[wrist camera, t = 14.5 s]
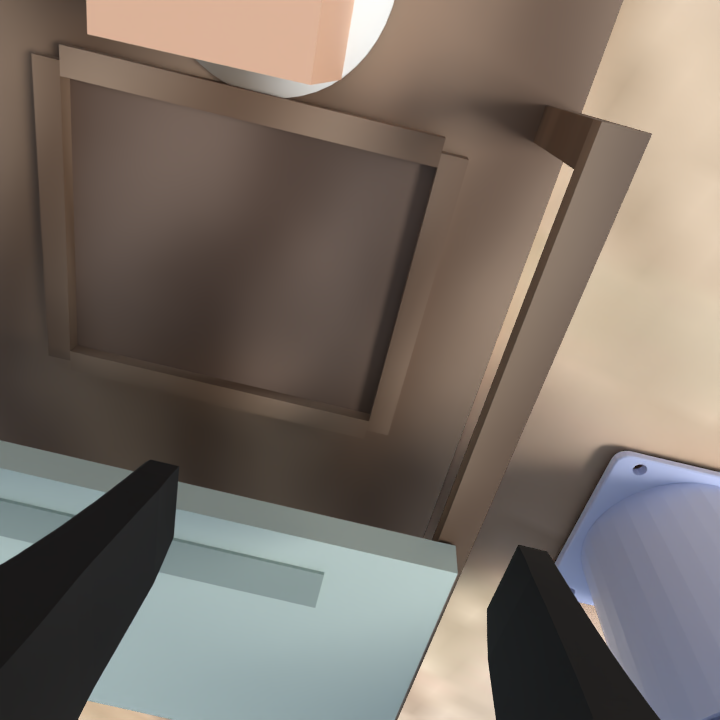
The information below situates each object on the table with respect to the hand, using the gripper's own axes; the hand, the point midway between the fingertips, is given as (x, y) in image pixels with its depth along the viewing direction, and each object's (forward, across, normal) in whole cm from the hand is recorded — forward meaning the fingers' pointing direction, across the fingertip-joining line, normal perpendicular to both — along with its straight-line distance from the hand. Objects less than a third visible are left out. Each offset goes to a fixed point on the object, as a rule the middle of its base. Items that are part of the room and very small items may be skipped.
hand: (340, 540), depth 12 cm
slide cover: (+3, +5, +8) cm, 10 cm away
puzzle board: (+10, +5, +1) cm, 11 cm away
